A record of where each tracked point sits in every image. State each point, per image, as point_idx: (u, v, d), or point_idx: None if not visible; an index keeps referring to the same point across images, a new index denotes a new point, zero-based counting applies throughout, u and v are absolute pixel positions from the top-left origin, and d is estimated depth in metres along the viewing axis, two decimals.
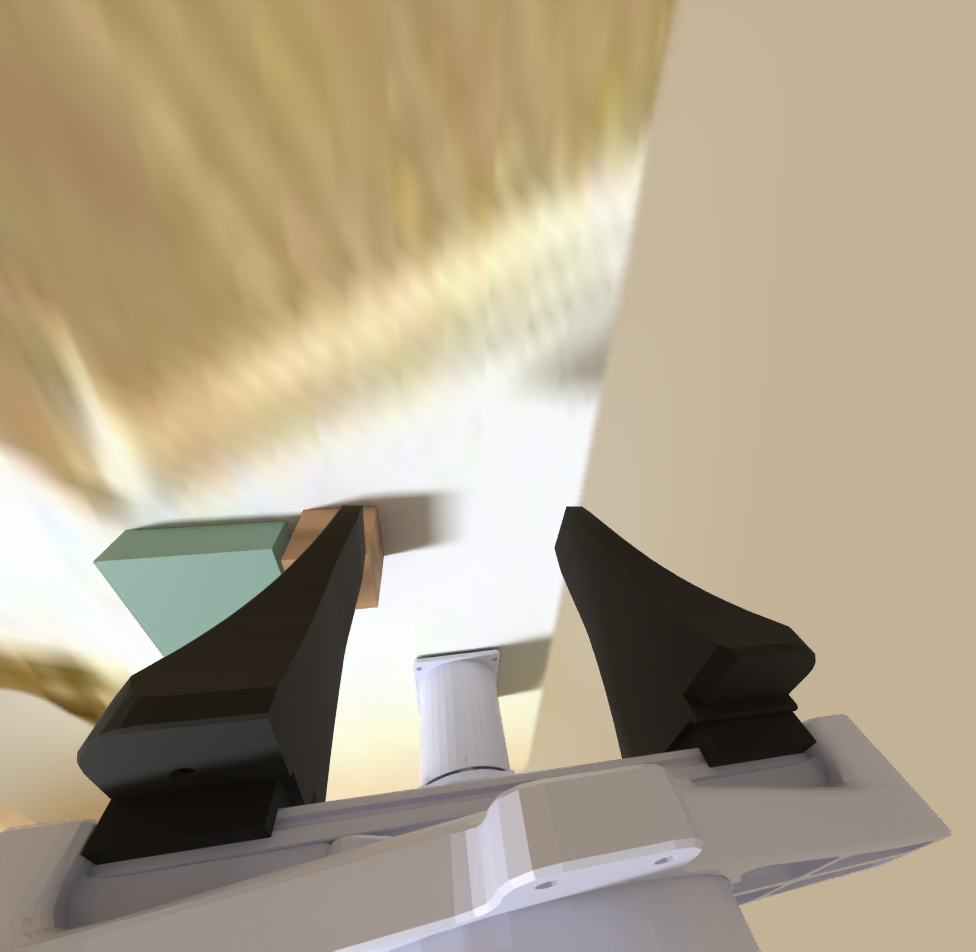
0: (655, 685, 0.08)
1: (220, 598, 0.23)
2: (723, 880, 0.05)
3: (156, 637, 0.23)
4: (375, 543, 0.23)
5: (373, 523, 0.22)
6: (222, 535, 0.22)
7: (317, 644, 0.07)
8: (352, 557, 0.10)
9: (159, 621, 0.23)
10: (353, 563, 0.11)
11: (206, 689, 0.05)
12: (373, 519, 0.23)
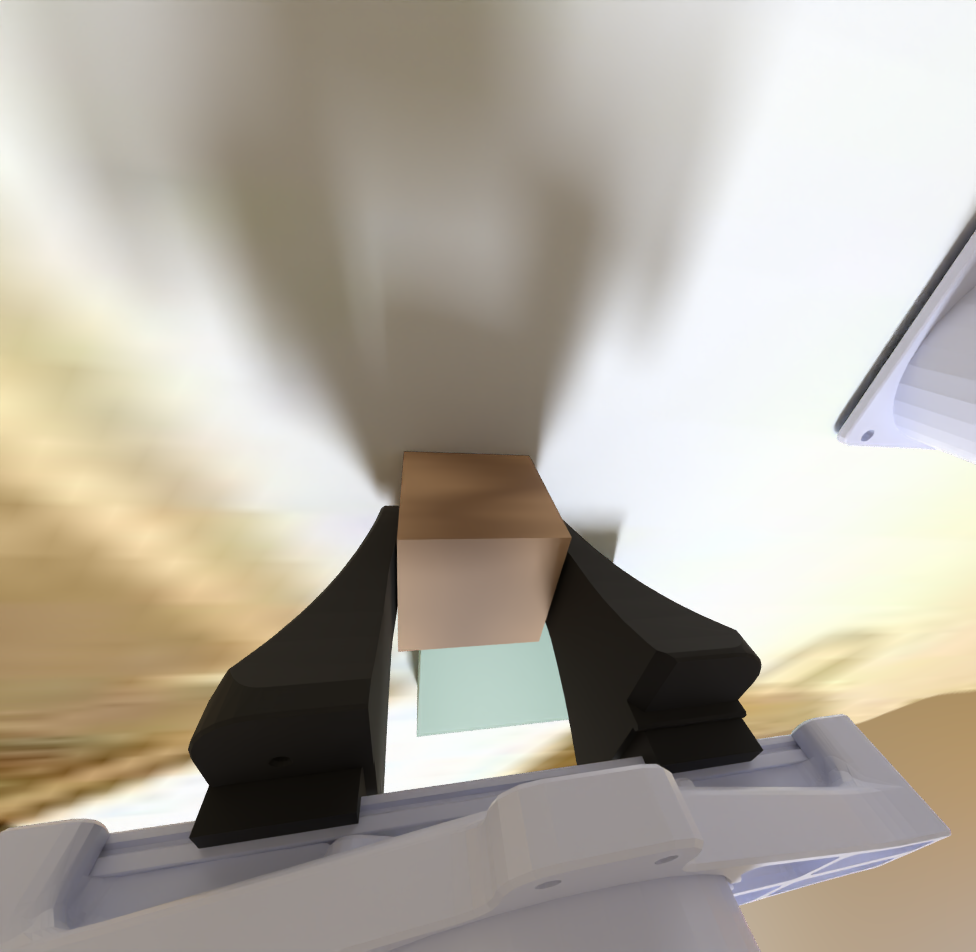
0: (604, 691, 0.08)
1: (504, 672, 0.16)
2: (723, 880, 0.05)
3: (548, 718, 0.19)
4: (448, 486, 0.11)
5: (405, 479, 0.11)
6: None
7: (383, 640, 0.08)
8: None
9: (524, 713, 0.19)
10: None
11: (306, 681, 0.05)
12: (403, 474, 0.11)
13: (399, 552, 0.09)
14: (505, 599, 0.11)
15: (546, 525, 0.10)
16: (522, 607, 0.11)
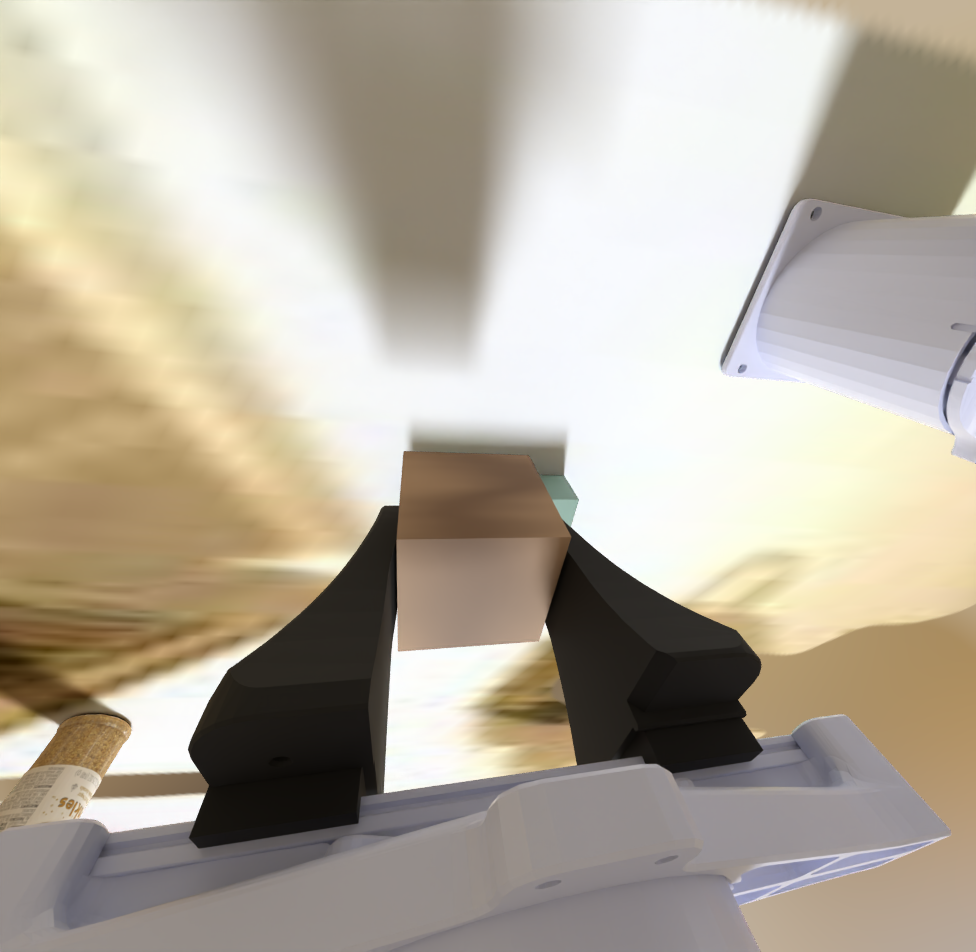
0: (604, 691, 0.08)
1: None
2: (723, 880, 0.05)
3: None
4: (447, 486, 0.11)
5: (404, 478, 0.11)
6: None
7: (383, 640, 0.08)
8: None
9: None
10: None
11: (306, 681, 0.05)
12: (402, 474, 0.11)
13: (399, 552, 0.09)
14: (505, 599, 0.11)
15: (546, 525, 0.10)
16: (522, 606, 0.11)
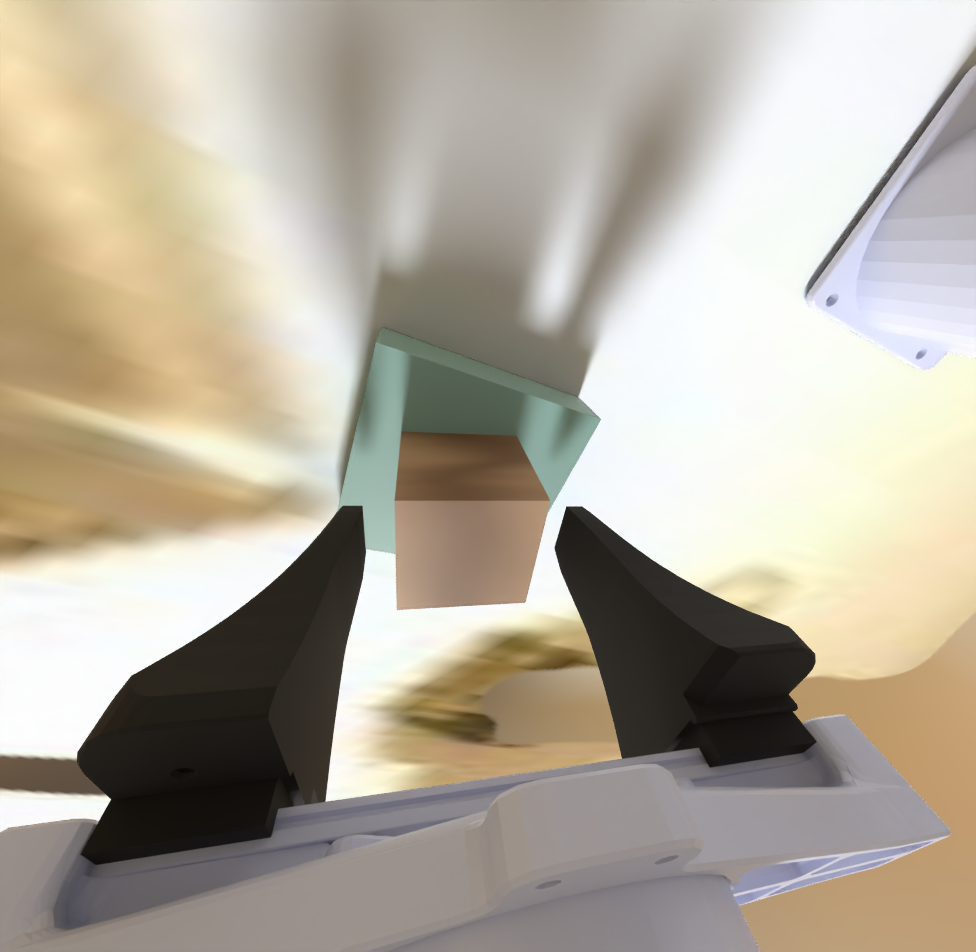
0: (655, 685, 0.08)
1: None
2: (723, 880, 0.05)
3: None
4: (440, 460, 0.12)
5: (402, 453, 0.12)
6: None
7: (317, 645, 0.07)
8: (352, 557, 0.10)
9: None
10: (353, 563, 0.11)
11: (207, 689, 0.05)
12: (400, 450, 0.12)
13: (396, 512, 0.10)
14: (492, 560, 0.12)
15: (528, 491, 0.11)
16: (508, 567, 0.12)
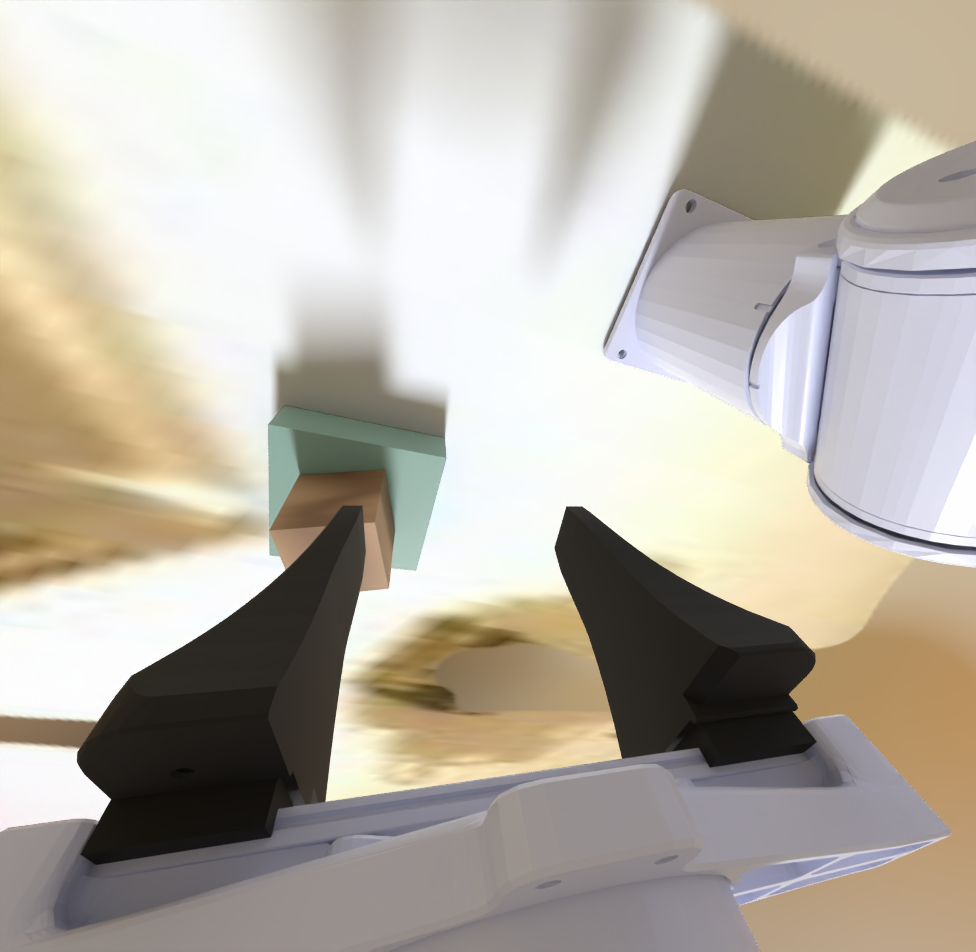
0: (655, 685, 0.08)
1: None
2: (723, 880, 0.05)
3: None
4: (315, 496, 0.18)
5: (291, 493, 0.18)
6: None
7: (317, 644, 0.07)
8: (352, 557, 0.10)
9: None
10: (353, 563, 0.11)
11: (206, 689, 0.05)
12: (291, 490, 0.18)
13: (273, 537, 0.16)
14: None
15: (363, 516, 0.17)
16: (364, 566, 0.18)
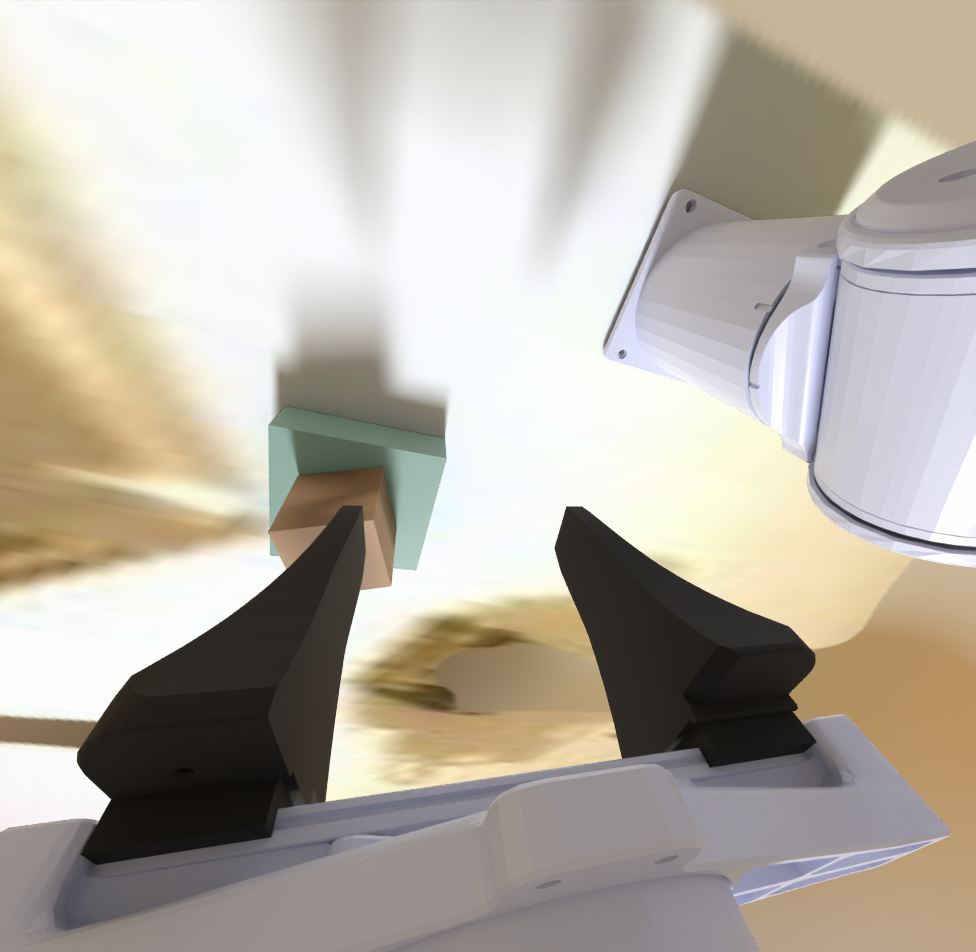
0: (655, 685, 0.08)
1: None
2: (723, 880, 0.05)
3: None
4: (314, 496, 0.18)
5: (289, 494, 0.18)
6: None
7: (317, 644, 0.07)
8: (352, 557, 0.10)
9: None
10: (353, 563, 0.11)
11: (206, 689, 0.05)
12: (290, 491, 0.18)
13: (272, 538, 0.16)
14: None
15: None
16: (365, 564, 0.18)
